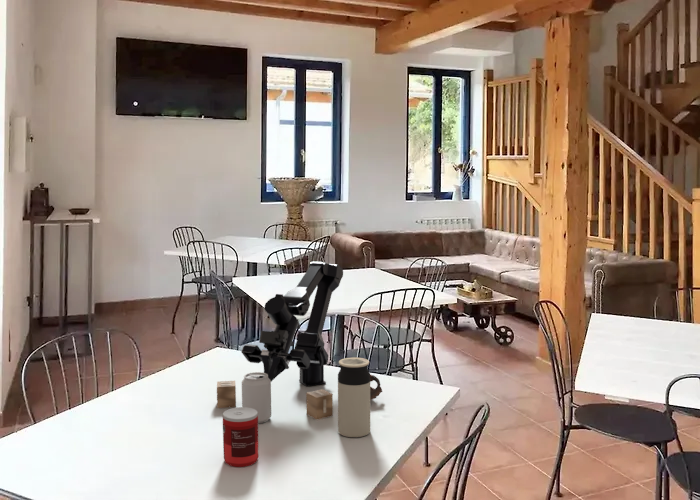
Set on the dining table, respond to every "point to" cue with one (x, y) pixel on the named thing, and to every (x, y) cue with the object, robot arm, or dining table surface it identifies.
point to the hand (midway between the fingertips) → (265, 384)
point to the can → (257, 394)
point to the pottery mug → (375, 391)
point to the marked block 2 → (319, 404)
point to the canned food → (240, 436)
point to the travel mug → (354, 397)
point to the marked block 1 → (226, 394)
